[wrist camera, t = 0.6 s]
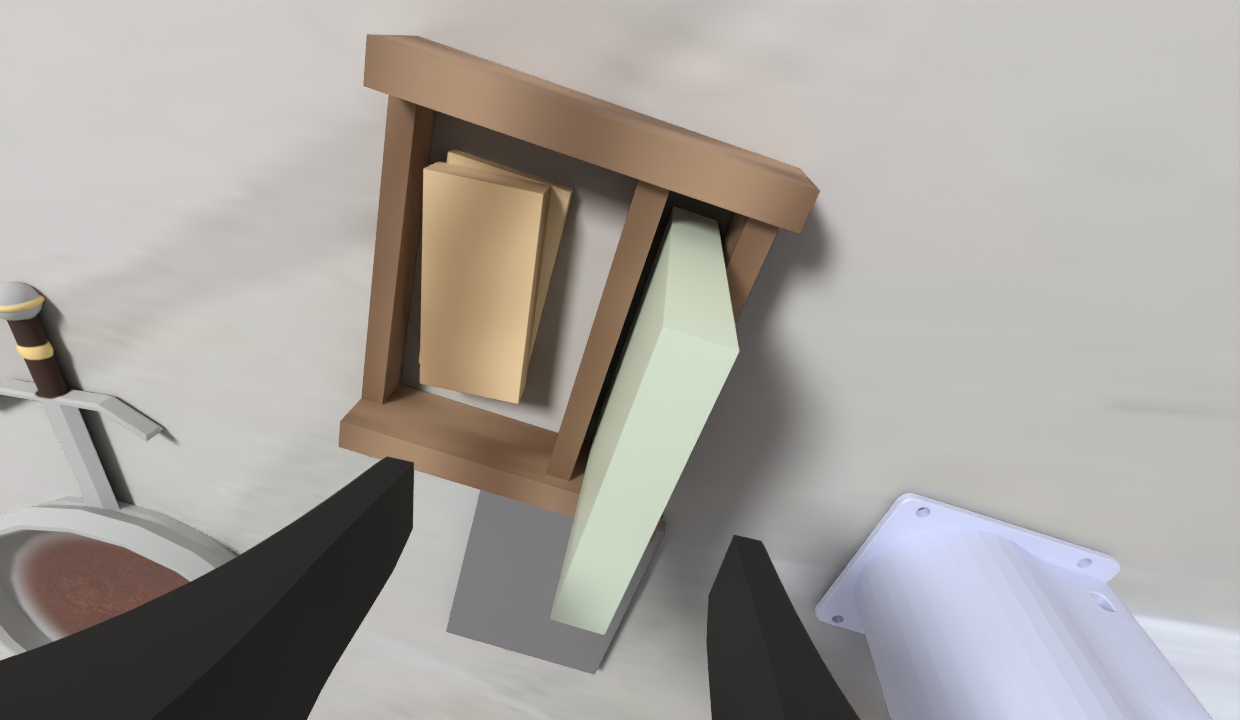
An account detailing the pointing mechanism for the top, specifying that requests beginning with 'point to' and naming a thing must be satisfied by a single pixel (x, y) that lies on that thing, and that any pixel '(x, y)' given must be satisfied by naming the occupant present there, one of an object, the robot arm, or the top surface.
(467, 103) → the rack
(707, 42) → the top surface
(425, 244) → the offcut top
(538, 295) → the block
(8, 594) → the frying pan
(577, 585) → the board
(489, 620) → the mat
